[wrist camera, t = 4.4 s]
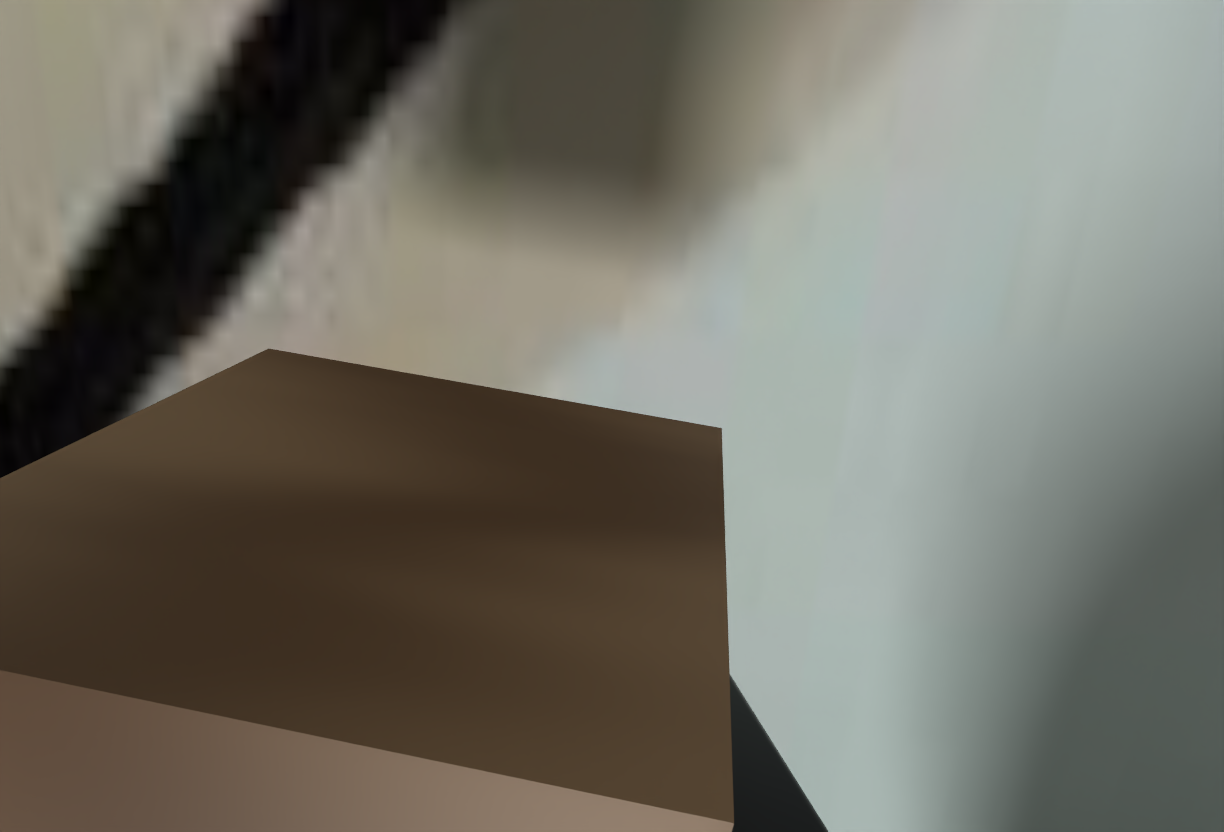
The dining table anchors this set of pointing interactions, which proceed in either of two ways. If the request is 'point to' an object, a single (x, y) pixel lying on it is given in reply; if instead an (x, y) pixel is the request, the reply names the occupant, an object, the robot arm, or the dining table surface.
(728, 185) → the dining table surface
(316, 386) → the walnut cube
